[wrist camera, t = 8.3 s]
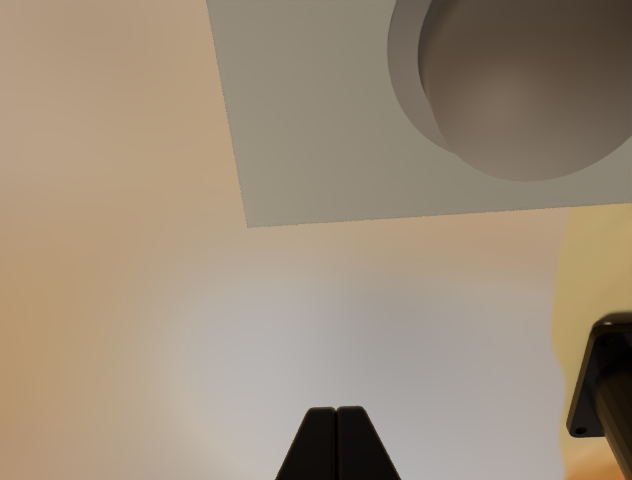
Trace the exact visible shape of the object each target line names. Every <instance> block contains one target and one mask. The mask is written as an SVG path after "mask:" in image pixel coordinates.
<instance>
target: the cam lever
mask: <svg viewBox="0 0 632 480" xmlns="http://www.w3.org/2000/svg"><path fill="white" fill-rule="evenodd" d="M417 61H418V71H419V76H420V81H421V85H422V87H423V90H424V92H425V95H426V97H427V100H428V102H429V105H430V107H431V110H432V112H433V115H434V117H435V120H436V122H437V125H438V127H439V130H440V132H441V134H442V136H443V137H444V139H445V141H446V143H447V144H448V145H449V147H450V148H451V149H452V150H453V151H454V153H455V154H456V155H457V156H458V157H460V158H461V159H462V160H463V161H464V162H465V163H467V164H468V165H470V166H471V167H473V168H474V169H476V170H478V171H480V172H482V173H484V174H487V175H490V176H493V177H496V178H499V179H504V180H510V181H521V182H531V181H543V180H549V179H555V178H558V177H562V176H566V175H569V174H572V173H574V172H577V171H580V170H582V169H584V168H586V167H588V166H590V165H592V164H594V163H596V162H598V161H599V160H601V159H603V158H604V157H606V156H607V155H609V154H610V153H612V152H613V151H614V150H616V149H617V148H618V147H620V146H621V145H622V144H623V143H624V142H625V141H627V140H628V139H629V138H630V137H631V136H632V0H433V1H432V3H431V5H430V7H429V9H428V11H427V14H426V16H425V18H424V22H423V25H422V28H421V32H420V37H419V43H418V57H417Z"/></svg>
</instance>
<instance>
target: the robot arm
mask: <svg viewBox="0 0 632 480" xmlns="http://www.w3.org/2000/svg"><path fill="white" fill-rule="evenodd" d="M605 337H606V338H605ZM603 338H604V339H603ZM566 427H567V429H568V432H569V434H570V435H571V436H572V437H576V438H584V437H606V439H607V441H608V443H609V445H610V447H611V449H612V452H613V454H614V456H615V458H616V460H617V462H618V464H619V466H620V469H621V471H622V473H623V475H624V477H625V479H626V480H632V324H614V325H603V326H599V327H597V328H595V329H594V330H593V331H592V332H591V334H590V336H589V340H588V343H587V347H586V351H585V355H584V358H583V362H582V366H581V370H580V373H579V377H578V381H577V385H576V389H575V392H574V396H573V400H572V404H571V407H570V411H569V415H568V419H567V422H566ZM275 480H401V478H400V477H399V474H398V472H397V471H396V469H395V467H394V465H393V463H392V461H391V459H390V457H389V455H388V453H387V451H386V449H385V447H384V446H383V443H382V442H381V440H380V438H379V436H378V434H377V432H376V430H375V428H374V426H373V424H372V422H371V420H370V418H369V416H368V414H367V412H366V411H365V409H364V408H363V407H361V406H341V407H339V408H337V410H335V409H334V408H333V407H314V408H310V409H309V410H308V411H307V413H306V414H305V417H304V419H303V421H302V423H301V425H300V427H299V429H298V432H297V434H296V436H295V438H294V440H293V443H292V444H291V447H290V449H289V451H288V453H287V455H286V457H285V460H284V462H283V464H282V466H281V468H280V470H279V472H278V474H277V477H276V479H275Z"/></svg>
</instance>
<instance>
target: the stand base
mask: <svg viewBox="0 0 632 480" xmlns="http://www.w3.org/2000/svg"><path fill="white" fill-rule="evenodd" d="M432 1H433V0H206V2H207V7H208V13H209V18H210V23H211V29H212V35H213V40H214V46H215V51H216V57H217V62H218V68H219V73H220V79H221V84H222V89H223V95H224V101H225V107H226V112H227V117H228V123H229V128H230V134H231V139H232V145H233V151H234V156H235V161H236V167H237V172H238V178H239V184H240V189H241V194H242V200H243V205H244V211H245V216H246V222H247V227H248V228H250V227H265V226H282V225H297V224H312V223H328V222H344V221H359V220H374V219H389V218H403V217H404V218H405V217H421V216H436V215H452V214H467V213H483V212H498V211H514V210H528V209H544V208H559V207H576V206H591V205H607V204H622V203H632V136H631V137H630V138H629V139H628V140H627V141H625V142H624V143H623V144H622V145H621V146H620V147H618V148H617V149H616V150H614V151H613V152H612V153H610V154H609V155H607V156H606V157H604V158H603V159H601V160H599V161H598V162H596V163H594V164H592V165H590V166H588V167H586V168H584V169H582V170H580V171H577V172H574V173H572V174H569V175H566V176H562V177H558V178H555V179H549V180H543V181H531V182H521V181H510V180H504V179H499V178H496V177H493V176H490V175H487V174H484V173H482V172H480V171H478V170H476V169H474V168H473V167H471V166H470V165H468V164H467V163H465V162H464V161H463V160H462V159H461V158H460V157H458V156H457V155H456V154H455V153H454V151H453V150H452V149H451V148H450V147H449V145H448V144H447V143H446V141H445V139H444V137H443V136H442V134H441V132H440V130H439V127H438V125H437V122H436V120H435V117H434V115H433V112H432V110H431V107H430V105H429V102H428V100H427V97H426V95H425V92H424V90H423V87H422V85H421V81H420V76H419V71H418V61H417V57H418V43H419V37H420V32H421V28H422V25H423V22H424V18H425V16H426V14H427V11H428V9H429V7H430V5H431V3H432Z"/></svg>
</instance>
